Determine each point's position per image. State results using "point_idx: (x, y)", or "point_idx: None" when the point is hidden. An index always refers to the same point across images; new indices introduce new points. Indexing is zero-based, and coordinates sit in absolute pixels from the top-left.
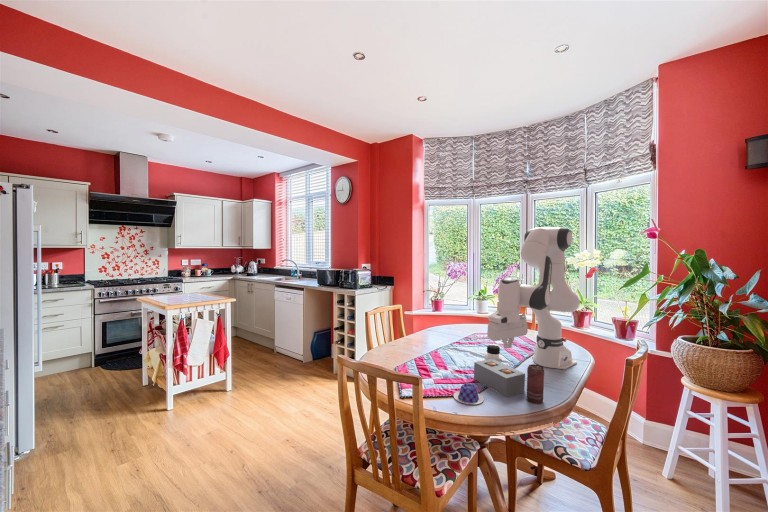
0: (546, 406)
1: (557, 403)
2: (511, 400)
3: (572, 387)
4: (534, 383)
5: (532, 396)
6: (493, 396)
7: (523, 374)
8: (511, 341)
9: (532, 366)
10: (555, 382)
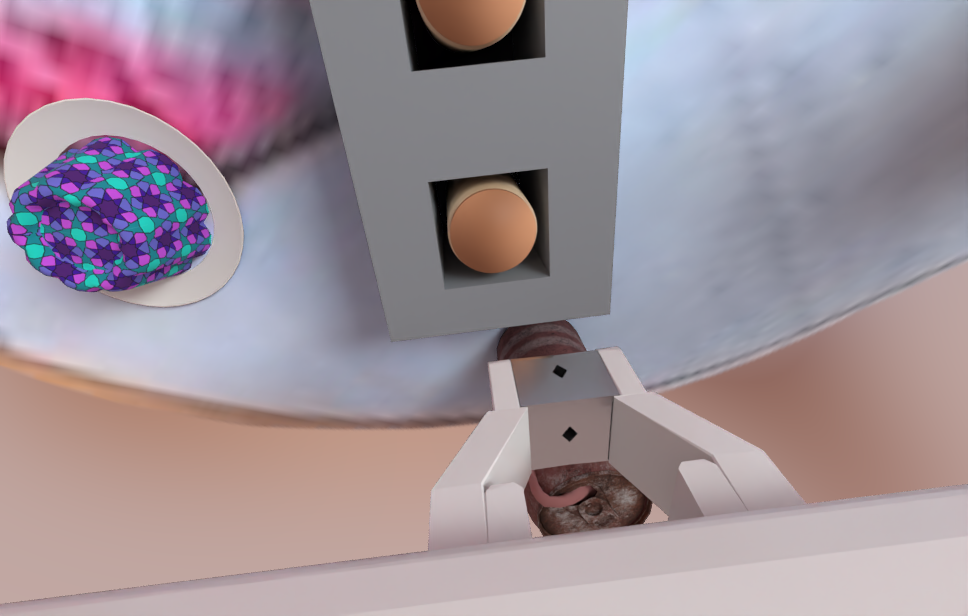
0: None
1: None
2: None
3: (873, 289)
4: None
5: None
6: (331, 243)
7: (589, 314)
8: (650, 495)
9: (591, 485)
10: (874, 206)
